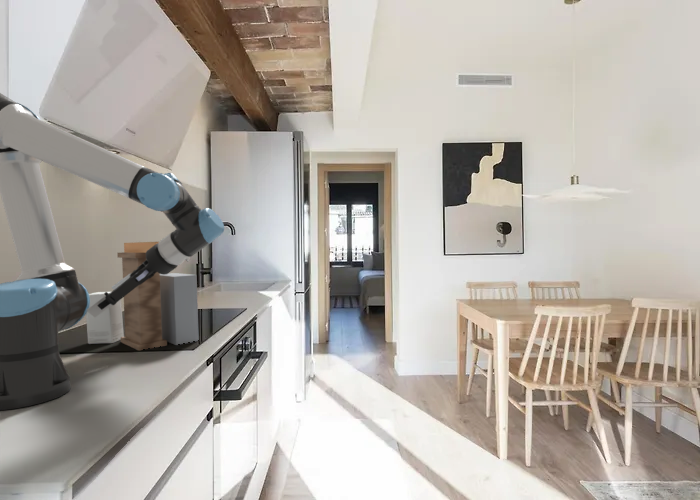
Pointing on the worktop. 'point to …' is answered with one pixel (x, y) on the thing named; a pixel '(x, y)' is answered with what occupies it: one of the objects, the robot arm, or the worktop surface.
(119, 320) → the skincare box
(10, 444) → the worktop surface
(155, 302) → the walnut shelf stand
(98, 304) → the robot arm
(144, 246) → the orange blank
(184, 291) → the slate block
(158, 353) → the worktop surface
